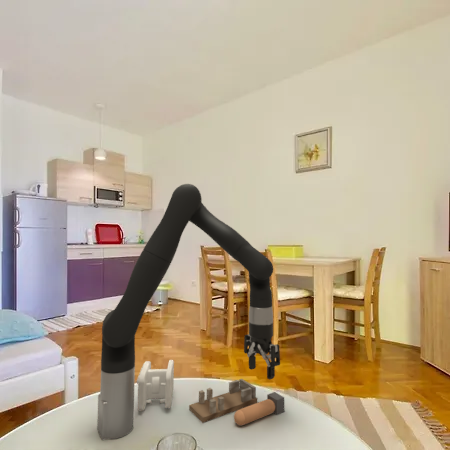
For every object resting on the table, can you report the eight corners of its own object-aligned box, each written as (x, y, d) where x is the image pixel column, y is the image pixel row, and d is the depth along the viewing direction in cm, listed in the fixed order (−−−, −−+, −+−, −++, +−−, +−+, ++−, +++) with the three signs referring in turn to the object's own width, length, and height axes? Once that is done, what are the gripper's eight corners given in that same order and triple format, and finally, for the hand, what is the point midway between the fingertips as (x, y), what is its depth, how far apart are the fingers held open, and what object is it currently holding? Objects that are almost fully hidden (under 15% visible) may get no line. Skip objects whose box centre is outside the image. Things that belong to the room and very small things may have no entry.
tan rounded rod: (239, 430, 88) (239, 414, 88) (230, 423, 91) (230, 407, 92) (284, 411, 98) (284, 397, 98) (274, 405, 101) (274, 391, 102)
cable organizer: (170, 414, 96) (171, 375, 96) (135, 415, 95) (136, 376, 95) (173, 391, 111) (174, 357, 111) (143, 392, 110) (144, 358, 110)
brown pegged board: (202, 422, 91) (202, 405, 91) (189, 409, 98) (189, 393, 99) (257, 402, 103) (257, 387, 103) (241, 392, 110) (241, 377, 110)
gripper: (237, 317, 101) (237, 368, 100) (267, 327, 89) (267, 385, 88) (255, 314, 105) (255, 363, 104) (286, 323, 93) (286, 378, 92)
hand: (261, 373), depth 96 cm, fingers open, 8 cm apart
